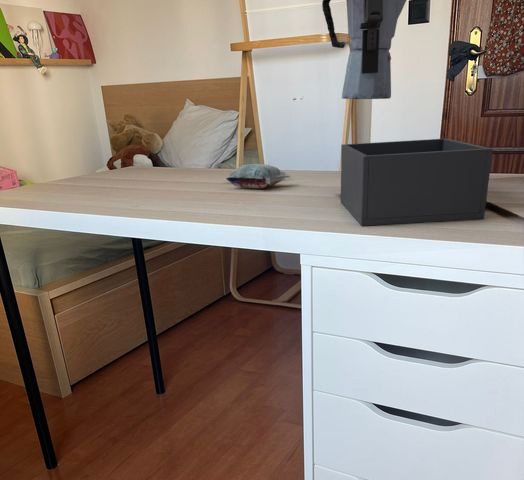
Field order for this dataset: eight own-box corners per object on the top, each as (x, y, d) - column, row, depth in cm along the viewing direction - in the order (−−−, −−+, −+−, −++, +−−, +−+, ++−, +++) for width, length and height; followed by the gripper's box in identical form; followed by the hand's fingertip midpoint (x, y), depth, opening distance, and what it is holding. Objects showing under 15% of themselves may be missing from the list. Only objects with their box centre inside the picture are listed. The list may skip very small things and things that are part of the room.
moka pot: (408, 97, 91) (416, -44, 83) (319, 103, 95) (318, -32, 86) (406, 97, 100) (413, -31, 91) (324, 102, 103) (324, -22, 94)
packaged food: (249, 182, 124) (248, 160, 122) (291, 185, 118) (290, 162, 115) (225, 189, 118) (223, 166, 116) (268, 192, 112) (266, 168, 109)
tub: (440, 196, 97) (446, 138, 93) (483, 218, 80) (493, 148, 75) (340, 202, 97) (341, 144, 93) (361, 226, 80) (363, 156, 75)
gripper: (336, -65, 95) (336, 77, 105) (356, -105, 76) (353, 73, 86) (378, -68, 95) (374, 74, 105) (408, -108, 76) (399, 70, 86)
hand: (364, 73), depth 95 cm, fingers closed on moka pot, 8 cm apart
